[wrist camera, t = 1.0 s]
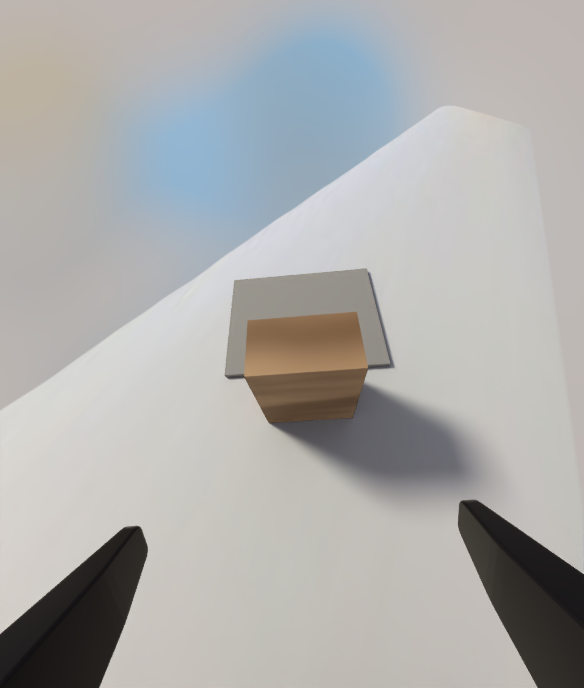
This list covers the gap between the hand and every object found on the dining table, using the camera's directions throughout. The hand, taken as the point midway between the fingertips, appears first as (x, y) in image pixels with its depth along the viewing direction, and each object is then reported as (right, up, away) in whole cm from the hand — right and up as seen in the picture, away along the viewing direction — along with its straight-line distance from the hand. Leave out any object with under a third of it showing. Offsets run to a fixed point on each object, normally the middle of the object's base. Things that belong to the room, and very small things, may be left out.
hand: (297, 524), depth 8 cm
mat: (+1, +8, +21) cm, 22 cm away
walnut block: (+1, 0, +17) cm, 17 cm away
